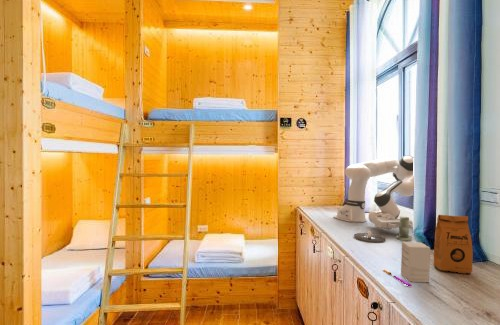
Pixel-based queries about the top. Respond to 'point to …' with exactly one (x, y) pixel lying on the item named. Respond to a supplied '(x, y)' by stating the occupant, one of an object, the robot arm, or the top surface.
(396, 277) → the purple screwdriver
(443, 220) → the coffee package
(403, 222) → the green cylinder with base
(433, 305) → the top surface
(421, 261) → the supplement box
